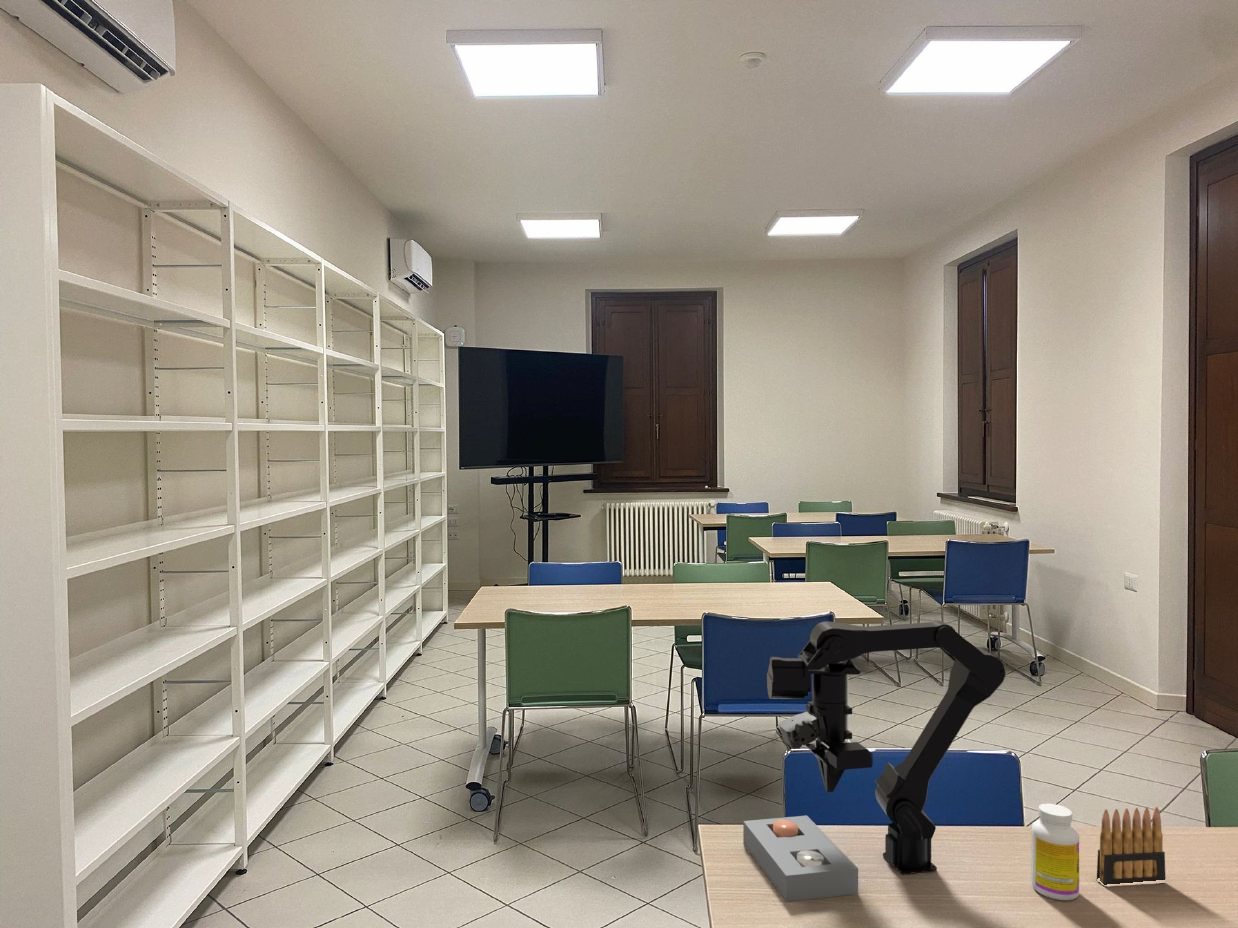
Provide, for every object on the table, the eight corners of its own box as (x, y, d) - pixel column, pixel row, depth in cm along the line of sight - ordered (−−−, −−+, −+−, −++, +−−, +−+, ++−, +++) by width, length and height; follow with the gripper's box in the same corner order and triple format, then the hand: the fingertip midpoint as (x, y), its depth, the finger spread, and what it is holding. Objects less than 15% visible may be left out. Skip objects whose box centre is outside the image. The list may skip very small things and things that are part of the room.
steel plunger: (816, 867, 131) (816, 849, 131) (828, 880, 127) (828, 861, 127) (792, 869, 130) (792, 851, 130) (803, 883, 126) (803, 864, 126)
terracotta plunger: (791, 835, 141) (791, 818, 141) (801, 847, 137) (801, 829, 137) (769, 838, 140) (769, 820, 140) (778, 849, 136) (778, 831, 136)
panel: (806, 837, 144) (806, 815, 144) (858, 893, 125) (858, 868, 125) (743, 843, 142) (743, 820, 142) (786, 901, 123) (786, 875, 123)
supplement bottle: (1085, 904, 123) (1086, 820, 122) (1038, 899, 124) (1039, 816, 124) (1070, 882, 129) (1070, 802, 129) (1025, 877, 130) (1026, 798, 130)
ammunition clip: (1157, 877, 131) (1157, 804, 131) (1166, 883, 129) (1166, 809, 129) (1096, 880, 130) (1096, 806, 129) (1104, 887, 128) (1104, 811, 128)
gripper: (764, 685, 143) (763, 773, 143) (808, 719, 124) (808, 819, 124) (822, 682, 145) (822, 768, 145) (874, 715, 127) (874, 813, 127)
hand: (829, 791), depth 135 cm, fingers closed
